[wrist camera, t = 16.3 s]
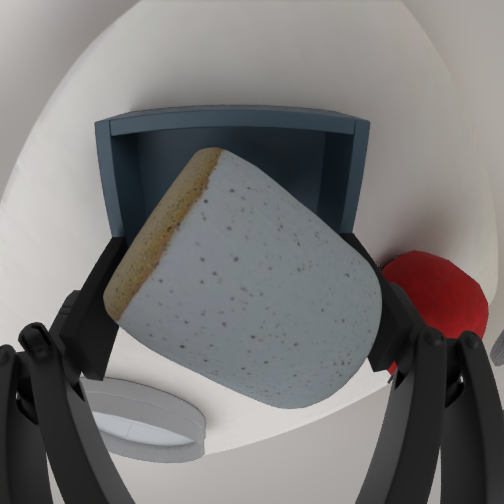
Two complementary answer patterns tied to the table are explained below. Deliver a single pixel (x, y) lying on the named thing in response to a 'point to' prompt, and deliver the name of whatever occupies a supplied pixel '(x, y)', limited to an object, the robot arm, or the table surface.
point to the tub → (239, 143)
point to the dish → (145, 421)
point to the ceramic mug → (247, 286)
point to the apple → (439, 293)
